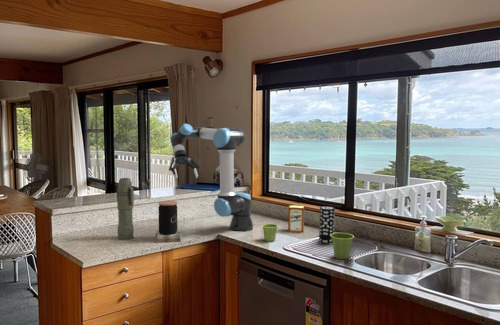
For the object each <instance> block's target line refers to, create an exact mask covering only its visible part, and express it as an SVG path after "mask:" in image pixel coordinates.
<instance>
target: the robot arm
mask: <svg viewBox="0 0 500 325" xmlns="http://www.w3.org/2000/svg"><path fill="white" fill-rule="evenodd" d="M169 139H170V144H171V146H172V150H173V154H174V156H173V157H171V163H170V164H169V168H168V171H171V173H172V175H174V177H175V180H178V178H179V177H178V171H177V167H178V166H179V165H186V166H188V167H190V168H191V169H192V170H193V172H194V173H193V174H194V176H195V179H198V178H199V171H198V170H199V169H200V165H199V164H198V163H197V162H196V161H195V160H194V159H193V157H192V156H190V157H188V156H187V152H186V149H185V146H184V143H185V142H186V140H187V139H204V140H212V142H213V145H214V146H215V147H216V150H217V152H218V153H219V192H218V193H217V198H216V199H215V201H214V202H213V208H214V211H215V213H216V214H217V215H218V216H220V217H223V218H224V217H229V216H232V217H231V220H230V223H229V229H230V230H231V229H233V230H232V231H235V230H241V231H240V232H247V231H246V230H249V231H252V230H253V229H254V223H253V220H252V217H251V214H252V213H251V211H252V206H251V205H252V198H251V197H252V196H251V195H250V193H246V192H245V193H244V192H235V170H234V169H235V164H234V163H235V162H234V161H235V160H234V159H235V155H234V153H235V152H236V150H237V147H240V146H242V145H243V144H244V143H245V141H246V134H245V132H244V131H243V130H242V129H240V128H237V127H234V128H233V127H223V128H222V127H220V128H212V127H211V128H210V127H208V128H207V127H203V126H197V127H196V126H192V125H191V124H188V123H183V124H182V126H181V127H180V128H179V129H178V131H177V132H174V133H173V134H171V135H170V138H169ZM174 162H176V163H175V164H174ZM251 229H252V230H251Z"/></svg>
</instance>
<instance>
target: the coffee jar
mask: <svg viewBox="0 0 500 325" xmlns="http://www.w3.org/2000/svg"><path fill="white" fill-rule="evenodd" d="M177 204H178V201H175V200H162V201H159V202H158V205H159V206H158V231H159V233H160V234H162V235H172V234H175V233H176V232H177V230H178V205H177Z"/></svg>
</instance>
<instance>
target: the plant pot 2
mask: <svg viewBox="0 0 500 325" xmlns="http://www.w3.org/2000/svg"><path fill="white" fill-rule="evenodd" d="M330 236H331V238H332V242H333V244H332V248H333V256H334V258H335V259H339V260H343V259H345V260H347V259H349V258H350V256H351V249H352V243H353V242H354V241H353V240H354V238H355V236H354V235H353V234H351V233H348V232H334V233H333V234H331V235H330Z"/></svg>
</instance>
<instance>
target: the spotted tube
mask: <svg viewBox="0 0 500 325" xmlns="http://www.w3.org/2000/svg"><path fill="white" fill-rule="evenodd" d="M335 214H336V208H335V207H333V206H321V207H319V227H318V228H319V232H318V233H319V234H318V243H320V244H321V245H333V242H332V238H331V236H330V235H331V234H333V233H335V218H336V217H335Z"/></svg>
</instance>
